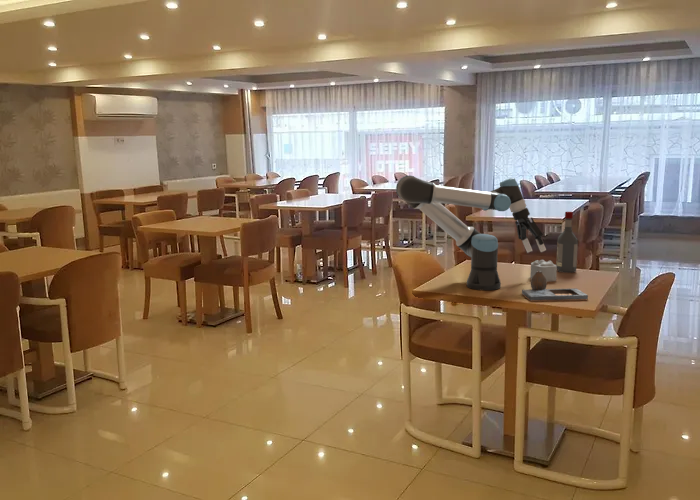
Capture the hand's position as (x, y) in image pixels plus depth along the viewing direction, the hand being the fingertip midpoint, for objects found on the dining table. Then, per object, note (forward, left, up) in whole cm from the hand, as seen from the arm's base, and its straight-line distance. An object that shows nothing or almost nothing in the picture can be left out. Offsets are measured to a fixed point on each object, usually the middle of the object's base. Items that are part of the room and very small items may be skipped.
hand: (536, 251), depth 292 cm
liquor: (+23, +20, -14) cm, 34 cm away
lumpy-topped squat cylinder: (+5, +4, -14) cm, 16 cm away
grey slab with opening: (-2, -31, -14) cm, 34 cm away
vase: (-5, -20, -14) cm, 25 cm away
